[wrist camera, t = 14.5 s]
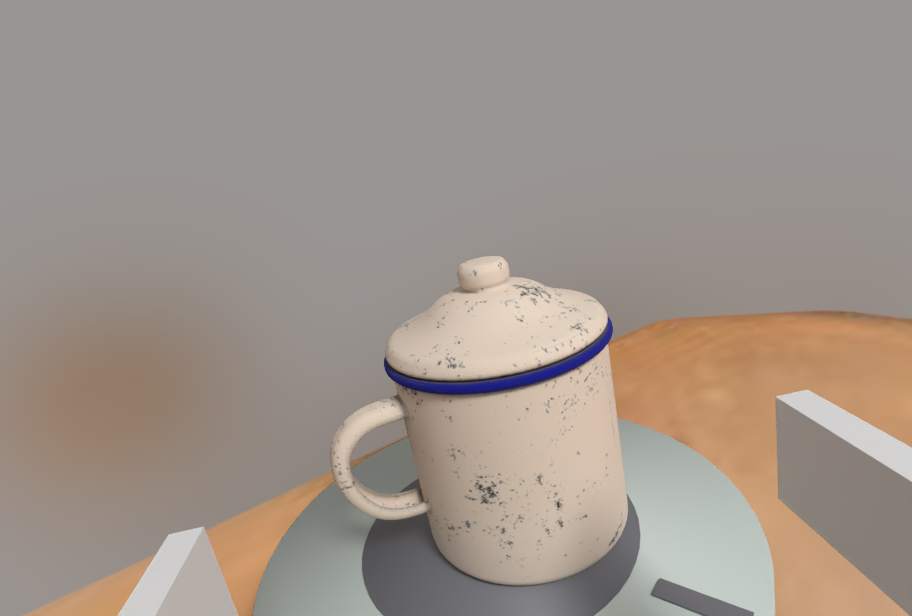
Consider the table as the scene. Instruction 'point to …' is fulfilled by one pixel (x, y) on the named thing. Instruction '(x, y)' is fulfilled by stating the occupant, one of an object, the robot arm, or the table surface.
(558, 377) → the teacup with lid
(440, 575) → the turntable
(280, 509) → the table surface
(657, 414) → the table surface
